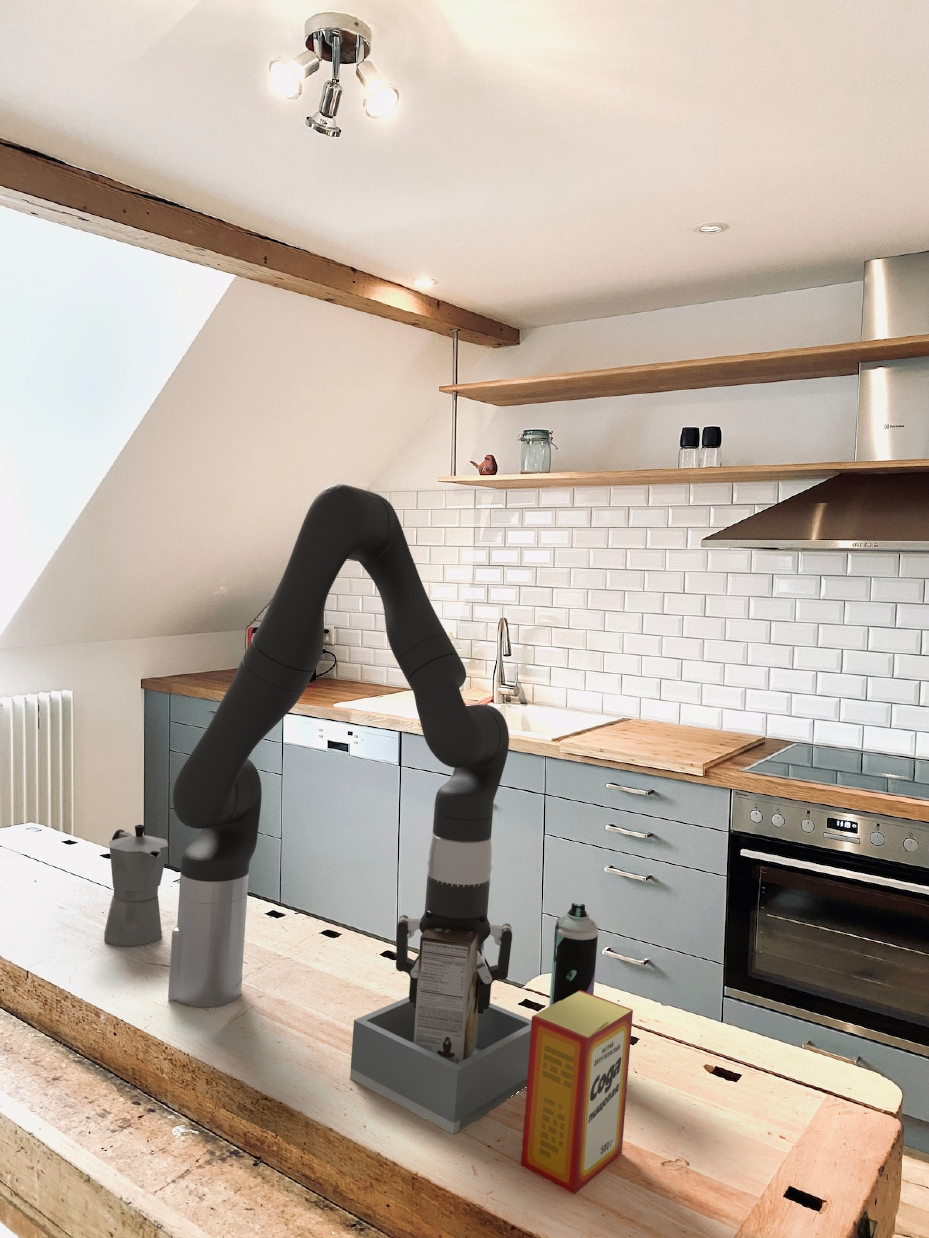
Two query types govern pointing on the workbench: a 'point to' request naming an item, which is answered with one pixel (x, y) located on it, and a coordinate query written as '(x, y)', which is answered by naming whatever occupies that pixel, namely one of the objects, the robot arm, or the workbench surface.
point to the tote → (441, 1065)
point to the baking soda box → (576, 1089)
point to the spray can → (573, 954)
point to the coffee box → (448, 993)
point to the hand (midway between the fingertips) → (448, 1007)
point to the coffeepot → (135, 888)
